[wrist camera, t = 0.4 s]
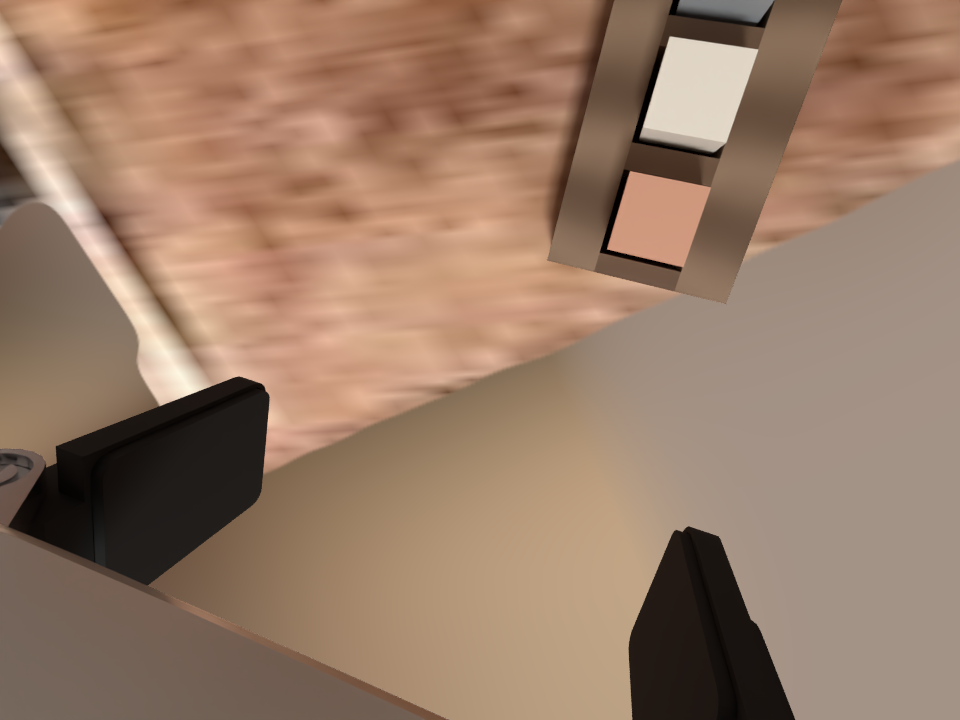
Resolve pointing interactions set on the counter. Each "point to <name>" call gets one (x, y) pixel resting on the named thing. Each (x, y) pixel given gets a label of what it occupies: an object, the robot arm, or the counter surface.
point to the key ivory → (697, 94)
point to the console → (729, 171)
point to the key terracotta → (658, 218)
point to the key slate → (725, 10)
